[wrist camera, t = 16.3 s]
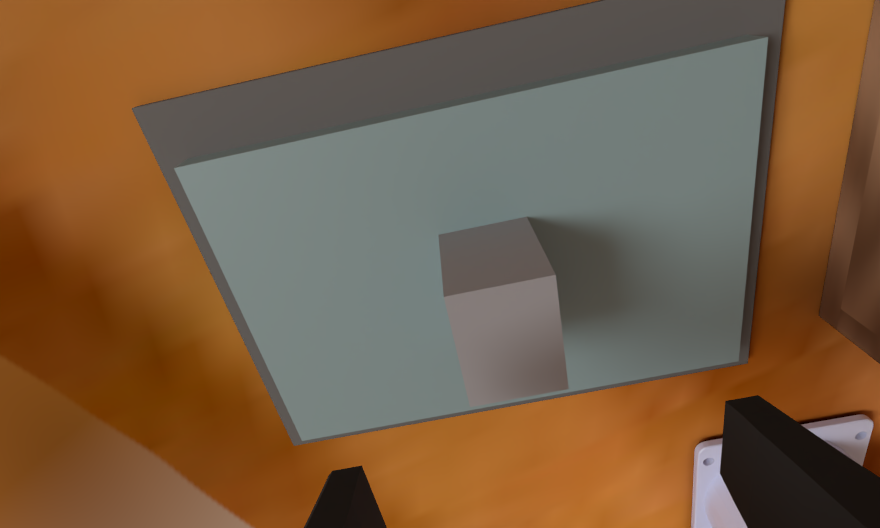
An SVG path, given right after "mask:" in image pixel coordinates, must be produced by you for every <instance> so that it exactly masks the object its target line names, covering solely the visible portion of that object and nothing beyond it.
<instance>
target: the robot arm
mask: <svg viewBox="0 0 880 528" xmlns="http://www.w3.org/2000/svg"><path fill="white" fill-rule="evenodd" d="M872 429H873V421H872V420H871V419H870V418H869V417H868V416H866V415H863V414H861V415H853V416H847V417H841V418H836V419H830V420H824V421H818V422H813V423H807V424H799V423H798V422H796V421H795V420H793V419H792V418H790V417H789V416H788V415H786V414H785V413H783V412H782V411H780V410H779V409H777V408H776V407H774V406H773V405H771V404H770V403H769V402H767V401H766V400H764V399H763V398H761V397H760V396H758V395H757V396H752V397H746V398H741V399H735V400H729V401H726V403H725V415H724V428H723V438H720V439H714V440H709V441H704V442H701V443H699V444H698V445H697V446H696V448H695V454H694V476H693V498H692V520H691V528H880V477H878V476H877V475H875V474H873V473H872V472H870V471H869V470H867V469H866V468H864V467H863V462H864V458H865V455H866V451H867V447H868V444H869V440H870V436H871V433H872ZM304 528H387V527H386V525H385V522H384V520H383V517H382V515H381V513H380V510H379V508H378V505H377V503H376V500H375V498H374V495H373V493H372V490H371V488H370V485H369V483H368V480H367V478H366V475H365V473H364V470H363V468H362V466H358V467H352V468H347V469H341V470H335V471H332V472H331V474H330V475H329V476H328V479H327V481H326V483H325V485H324V487H323V489H322V491H321V493H320V496H319V498H318V500H317V502H316V504H315V506H314V508H313V510H312V512H311V514H310V516H309V519H308V521H307V523H306V525H305V527H304Z"/></svg>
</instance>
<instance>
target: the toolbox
mask: <svg viewBox="0 0 880 528" xmlns="http://www.w3.org/2000/svg"><path fill="white" fill-rule="evenodd" d="M819 316H820V317H821V318H822V319H824V320H825V321H826V322H827V323H829V324H830V325H831V326H833V327H834V328H835V329H836V330H838V331H839V332H840V333H841V334H843V335H844V336H845V337H846V338H848V339H849V340H850V341H852V342H853V343H854V344H855V345H857V346H858V347H859V348H860V349H862V350H863V351H864V352H866V353H867V354H868V355H869V356H871V357H872V358H873V359H874V360H876V361H877V362H878V363H879V364H880V0H875V2H874V8H873V13H872V19H871V25H870V30H869V36H868V41H867V47H866V53H865V58H864V64H863V70H862V75H861V81H860V86H859V92H858V98H857V103H856V109H855V115H854V120H853V126H852V131H851V137H850V143H849V148H848V154H847V160H846V165H845V171H844V176H843V182H842V188H841V193H840V199H839V205H838V210H837V216H836V221H835V227H834V233H833V238H832V244H831V250H830V255H829V261H828V266H827V272H826V278H825V283H824V289H823V295H822V300H821V306H820V311H819Z"/></svg>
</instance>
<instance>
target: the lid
mask: <svg viewBox="0 0 880 528" xmlns="http://www.w3.org/2000/svg"><path fill="white" fill-rule="evenodd" d="M767 45H768V37H764V36H755V35H745V36H740V37H736V38H731V39H727V40H722V41H718V42H713V43H709V44H704V45H700V46H695V47H691V48H686V49H682V50H677V51H673V52H668V53H664V54H659V55H655V56H650V57H645V58H641V59H636V60H632V61H627V62H623V63H618V64H614V65H609V66H605V67H600V68H596V69H591V70H587V71H582V72H578V73H573V74H569V75H564V76H560V77H555V78H551V79H546V80H542V81H537V82H533V83H528V84H524V85H519V86H515V87H510V88H506V89H501V90H497V91H492V92H488V93H483V94H479V95H474V96H469V97H465V98H460V99H456V100H451V101H447V102H442V103H438V104H433V105H429V106H424V107H420V108H415V109H411V110H406V111H402V112H397V113H393V114H388V115H384V116H379V117H375V118H370V119H366V120H361V121H357V122H352V123H348V124H343V125H339V126H334V127H330V128H325V129H321V130H316V131H312V132H307V133H303V134H298V135H293V136H289V137H284V138H280V139H275V140H271V141H266V142H262V143H257V144H253V145H248V146H244V147H239V148H235V149H230V150H226V151H221V152H217V153H212V154H208V155H203V156H199V157H194V158H190V159H186V160H185V161H184V162H182V163H181V164H179V165H178V166H176V167H175V168H174V169H175V171H176V174H177V176H178V178H179V180H180V182H181V184H182V186H183V189H184V191H185V193H186V195H187V197H188V199H189V201H190V203H191V206H192V208H193V210H194V212H195V214H196V216H197V218H198V220H199V223H200V225H201V227H202V229H203V231H204V233H205V235H206V237H207V240H208V242H209V244H210V246H211V248H212V250H213V252H214V255H215V257H216V259H217V261H218V263H219V265H220V267H221V269H222V272H223V274H224V276H225V278H226V280H227V282H228V284H229V286H230V289H231V291H232V293H233V295H234V297H235V299H236V301H237V304H238V306H239V308H240V310H241V312H242V314H243V316H244V318H245V321H246V323H247V325H248V327H249V329H250V331H251V333H252V335H253V338H254V340H255V342H256V344H257V346H258V348H259V350H260V352H261V355H262V357H263V359H264V361H265V363H266V365H267V367H268V370H269V372H270V374H271V376H272V378H273V380H274V382H275V384H276V387H277V389H278V391H279V393H280V395H281V397H282V399H283V401H284V404H285V406H286V408H287V410H288V412H289V414H290V416H291V419H292V421H293V423H294V425H295V427H296V429H297V431H298V433H299V436H300V438H301V440H302V441H305V440H311V439H316V438H321V437H327V436H332V435H338V434H343V433H349V432H354V431H360V430H365V429H371V428H376V427H382V426H387V425H393V424H398V423H403V422H409V421H414V420H420V419H425V418H431V417H436V416H442V415H447V414H453V413H458V412H464V411H469V410H475V409H480V408H485V407H491V406H496V405H502V404H507V403H513V402H518V401H524V400H529V399H535V398H540V397H546V396H551V395H557V394H562V393H568V392H573V391H578V390H584V389H589V388H595V387H600V386H606V385H611V384H617V383H622V382H628V381H633V380H639V379H644V378H650V377H655V376H660V375H666V374H671V373H677V372H682V371H688V370H693V369H699V368H704V367H710V366H715V365H721V364H726V363H732V362H737V361H739V352H740V341H741V330H742V319H743V308H744V297H745V286H746V275H747V264H748V253H749V242H750V231H751V220H752V209H753V198H754V188H755V177H756V166H757V155H758V144H759V133H760V122H761V111H762V100H763V89H764V78H765V67H766V56H767Z"/></svg>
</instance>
